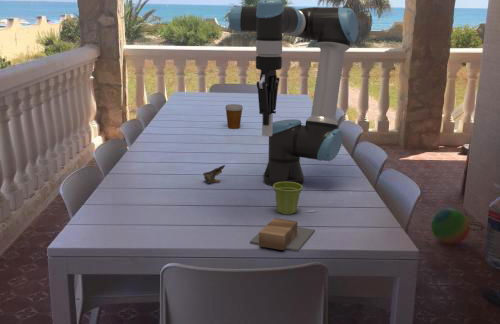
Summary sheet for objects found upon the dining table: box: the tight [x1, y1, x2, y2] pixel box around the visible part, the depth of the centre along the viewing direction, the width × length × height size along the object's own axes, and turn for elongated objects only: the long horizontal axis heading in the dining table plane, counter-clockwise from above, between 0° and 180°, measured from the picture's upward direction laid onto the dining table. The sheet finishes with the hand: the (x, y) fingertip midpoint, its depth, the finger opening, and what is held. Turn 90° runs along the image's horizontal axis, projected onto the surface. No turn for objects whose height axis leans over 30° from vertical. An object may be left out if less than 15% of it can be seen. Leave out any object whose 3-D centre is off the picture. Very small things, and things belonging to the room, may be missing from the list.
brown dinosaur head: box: [203, 164, 226, 184], centre depth 220 cm, size 8×6×7 cm
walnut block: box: [258, 217, 298, 251], centre depth 165 cm, size 4×7×12 cm
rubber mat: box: [249, 226, 316, 252], centre depth 169 cm, size 16×14×1 cm
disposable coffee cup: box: [224, 103, 244, 130], centre depth 316 cm, size 10×10×12 cm
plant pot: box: [272, 182, 303, 215], centre depth 189 cm, size 9×9×9 cm
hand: (267, 135), depth 177 cm, fingers closed
